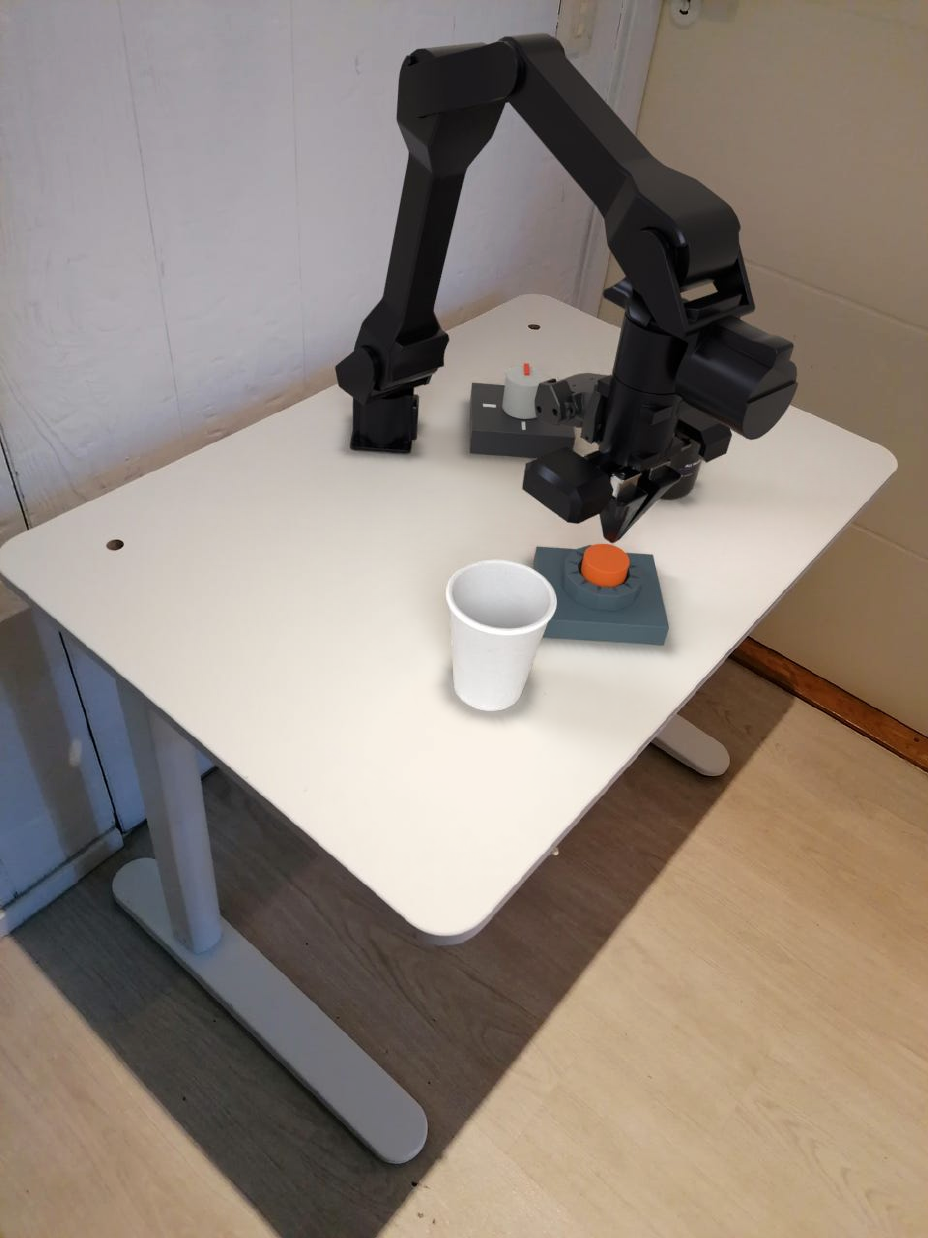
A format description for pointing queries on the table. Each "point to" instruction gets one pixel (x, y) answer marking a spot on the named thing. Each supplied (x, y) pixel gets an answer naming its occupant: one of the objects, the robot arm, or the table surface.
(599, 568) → the button
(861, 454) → the table surface
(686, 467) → the supplement bottle
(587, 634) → the button housing
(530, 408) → the timer knob
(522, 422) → the timer panel
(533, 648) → the dixie cup
